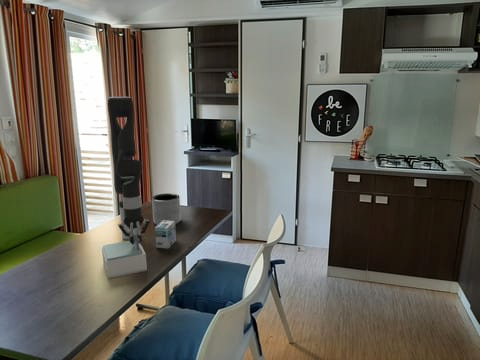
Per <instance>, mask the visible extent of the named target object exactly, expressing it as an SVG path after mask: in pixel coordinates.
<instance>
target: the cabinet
mask: <svg viewBox="0 0 480 360" xmlns="http://www.w3.org/2000/svg"><path fill="white" fill-rule="evenodd" d="M139 248H140V250H141V252H142V253H141V254H136V255H131V256H126V257H121V258H116V259H111V260H107V258H106V255H105V252H104V248H103V246H102V247H101V252H102V253H101V254H102V261H103V262H102V263H103V267H104V269H105V273H106V277H107V280H110V279H115V278H119V277H121V278H122V277H125V276H130V275H135V274H138V273H143V272H147V271H148V266H147V254H146V252H145V250H144V248H143V246H142V244H141V242H140V243H139Z"/></svg>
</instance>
